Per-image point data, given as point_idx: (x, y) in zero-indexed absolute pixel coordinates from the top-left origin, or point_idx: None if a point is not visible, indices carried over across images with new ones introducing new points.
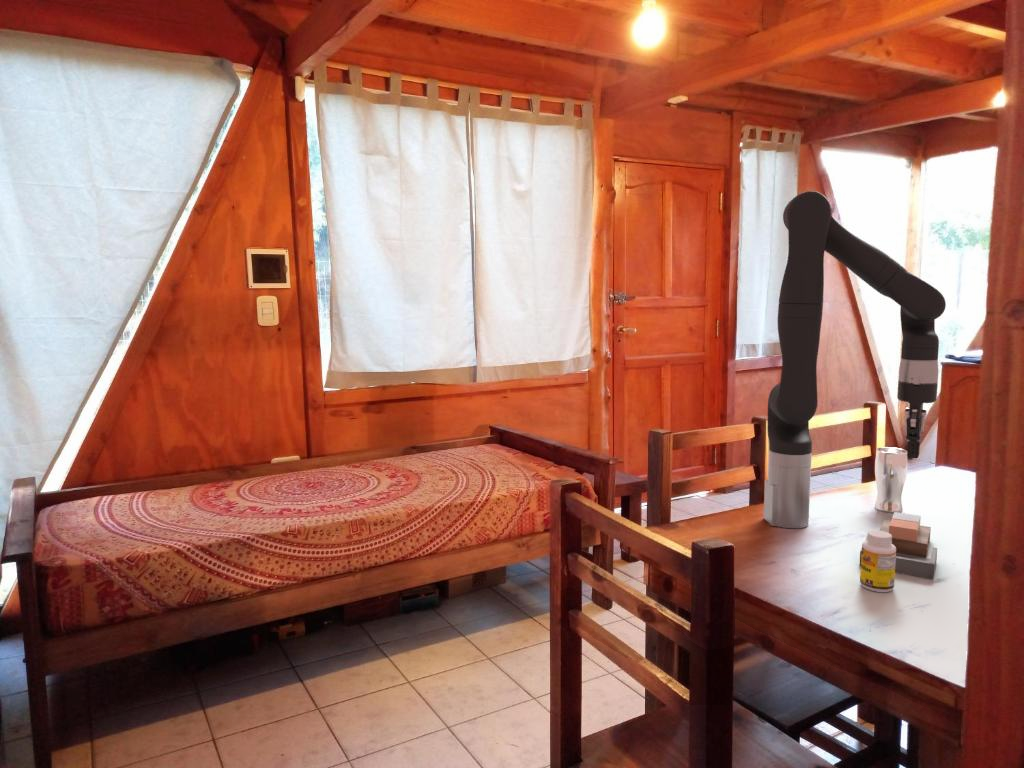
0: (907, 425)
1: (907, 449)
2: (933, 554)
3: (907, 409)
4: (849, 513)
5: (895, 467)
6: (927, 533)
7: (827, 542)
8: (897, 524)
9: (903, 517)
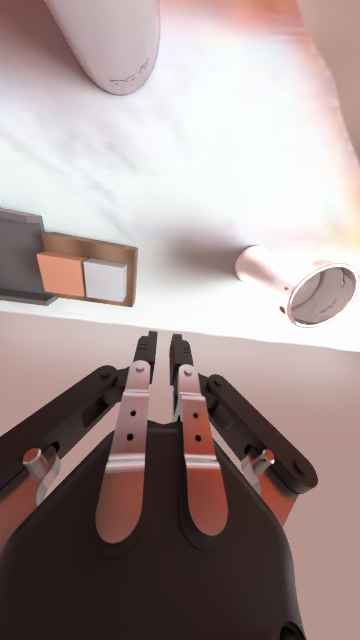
0: (8, 434)
1: (147, 342)
2: (16, 299)
3: (190, 524)
4: (221, 200)
5: (266, 292)
6: (101, 301)
7: (34, 142)
8: (52, 267)
9: (98, 279)
